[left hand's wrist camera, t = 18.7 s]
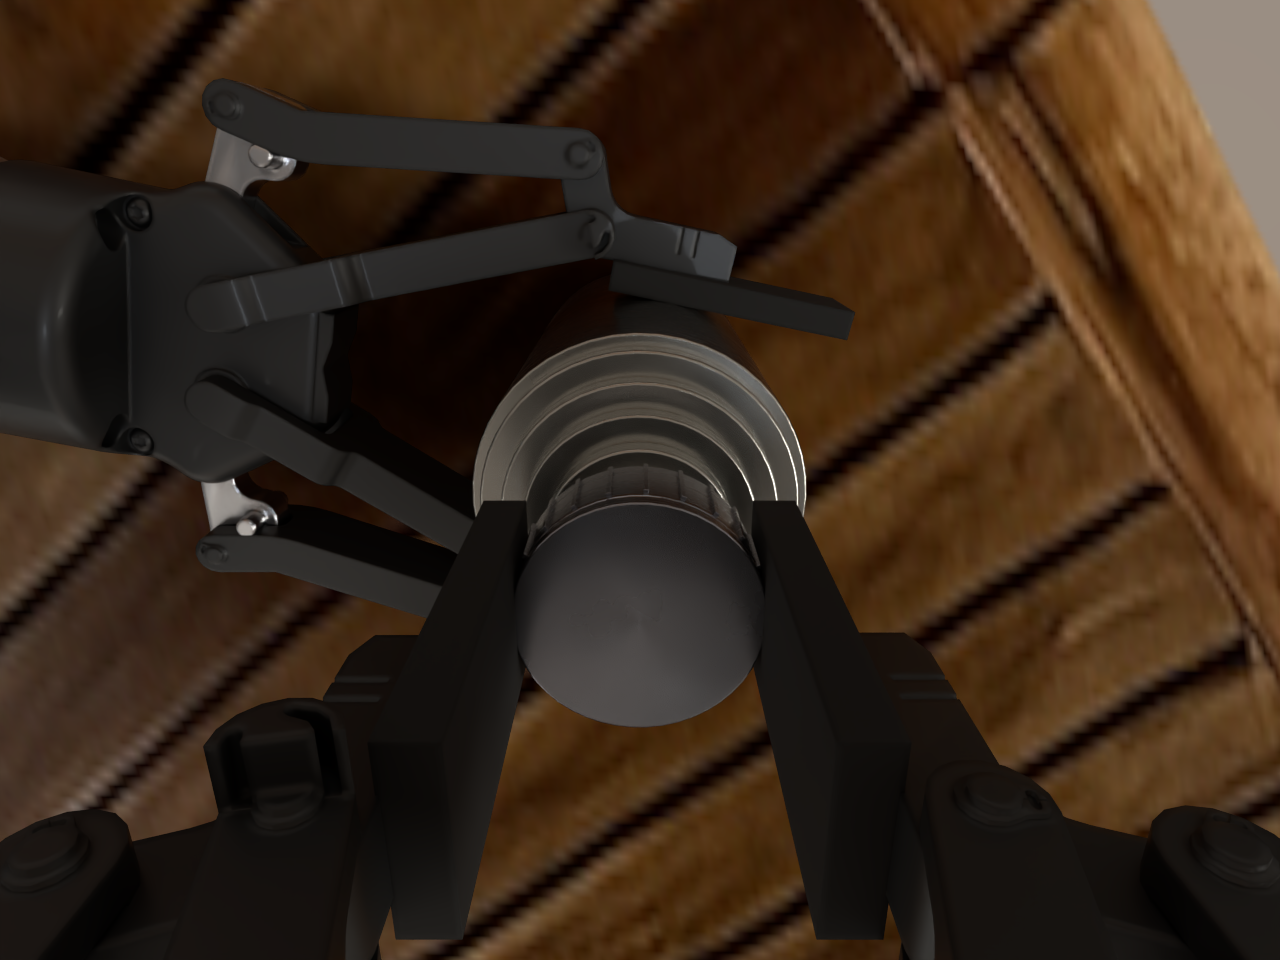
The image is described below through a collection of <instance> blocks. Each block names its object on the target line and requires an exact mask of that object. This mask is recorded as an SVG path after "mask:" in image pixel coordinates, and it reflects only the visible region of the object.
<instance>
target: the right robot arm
mask: <svg viewBox="0 0 1280 960" xmlns="http://www.w3.org/2000/svg"><path fill="white" fill-rule="evenodd" d="M202 106H203V109H204V112H205V115H206V117H207V118H208V119H209V121H210V122H211V123H212V124H213V125H214V126H216V127H217V131H216V136H215V140H214V145H213V149H212V154H211V158H210V162H209V167H208V171H207V176H206V180H205V181H201V182H195V183H191V184H188V185H186V186H183V187H180V188H177V189H165V188H160V187H155V186H150V185H146V184H141V183H136V182H131V181H126V180H122V179H117V178H112V177H107V176H103V175H98V174H93V173H88V172H83V171H79V170H74V169H69V168H64V167H60V166H55V165H50V164H45V163H40V162H36V161H29V160H6V159H4V158H2V157H0V433H5V434H10V435H16V436H21V437H26V438H32V439H37V440H42V441H48V442H53V443H59V444H64V445H69V446H75V447H80V448H85V449H91V450H96V451H102V452H109V453H118V454H131V455H143V456H150V457H154V458H157V459H159V460H161V461H164V462H165V463H167V464H169V465H171V466H173V467H174V468H176V469H177V470H179V471H180V472H181V473H183V474H184V475H186V476H187V477H189V478H191V479H193V480H196V481H199V482H201V485H202V490H203V495H204V500H205V504H206V509H207V514H208V519H209V524H210V532H209V533H208V534H207V535H205V536H204V537H203V538H202V539H201V540H199V542H198V544H197V546H196V555H197V558H198V560H199V561H200V562H201V563H202V565H203V566H204V567H206V568H208V569H210V570H212V571H217V572H278V573H281V574H284V575H288V576H291V577H294V578H298V579H301V580H304V581H307V582H311V583H314V584H317V585H320V586H324V587H327V588H330V589H333V590H337V591H340V592H343V593H346V594H350V595H353V596H356V597H360V598H363V599H366V600H369V601H373V602H376V603H379V604H382V605H386V606H389V607H392V608H395V609H399V610H402V611H405V612H409V613H412V614H415V615H418V616H422V617H425V618H427V617H428V615H429V613H430V611H431V609H432V607H433V605H434V603H435V601H436V599H437V596H438V594H439V592H440V590H441V588H442V586H443V584H444V582H445V580H446V578H447V576H448V574H449V572H450V569H451V567H452V565H453V563H454V561H455V559H456V557H457V555H458V553H459V551H460V549H461V547H462V545H463V542H464V540H465V538H466V536H467V534H468V532H469V530H470V528H471V526H472V524H473V522H474V520H475V518H476V517H475V512H474V506H473V488H472V481H470V480H469V479H467V478H465V477H464V476H462V475H460V474H459V473H457V472H455V471H454V470H452V469H450V468H448V467H447V466H445V465H443V464H442V463H440V462H438V461H437V460H435V459H433V458H432V457H430V456H428V455H427V454H425V453H423V452H421V451H420V450H418V449H416V448H415V447H413V446H411V445H410V444H408V443H406V442H405V441H403V440H401V439H400V438H398V437H396V436H394V435H393V434H391V433H389V432H388V431H386V430H385V429H383V428H382V427H381V426H380V423H379V421H378V420H377V419H376V418H375V417H374V416H373V415H371V414H370V413H368V412H367V411H365V410H363V409H361V408H360V407H358V406H356V405H355V404H353V403H351V392H352V376H351V371H350V366H349V361H348V351H349V349H350V346H351V343H352V341H353V338H354V335H355V333H356V330H357V318H358V306H359V303H362V302H366V301H370V300H375V299H380V298H386V297H391V296H396V295H401V294H407V293H412V292H417V291H422V290H428V289H433V288H438V287H443V286H449V285H454V284H459V283H464V282H470V281H475V280H480V279H485V278H490V277H496V276H501V275H506V274H511V273H517V272H522V271H527V270H532V269H538V268H543V267H548V266H553V265H559V264H564V263H569V262H574V261H580V260H585V259H590V258H595V260H596V259H599V258H604V259H608V260H613V266H612V272H611V277H610V282H609V288H608V291H613V292H618V293H623V294H628V295H632V296H637V297H642V298H647V299H652V300H656V301H661V302H666V303H671V304H676V305H680V306H685V307H690V308H695V309H700V310H704V311H709V312H714V313H719V314H724V315H729V316H733V317H738V318H743V319H748V320H753V321H757V322H762V323H767V324H772V325H777V326H781V327H786V328H791V329H796V330H801V331H805V332H810V333H815V334H820V335H825V336H829V337H834V338H839V339H844V340H847V338H848V335H849V331H850V328H851V325H852V321H853V318H854V315H855V312H854V311H852V310H850V309H849V308H847V307H846V306H844V305H842V304H841V303H839V302H838V301H836V300H834V299H833V298H829V297H824V296H819V295H815V294H810V293H805V292H801V291H796V290H791V289H786V288H782V287H777V286H772V285H767V284H763V283H758V282H753V281H749V280H744V279H739V278H734V277H730V274H731V270H732V266H733V261H734V257H735V253H736V249H737V247H736V246H735V245H734V244H732V243H731V242H729V241H728V240H726V239H725V238H724V237H722V236H721V235H719V234H718V233H716V232H713V231H709V230H704V229H700V228H695V227H690V226H686V225H681V224H676V223H672V222H667V221H662V220H658V219H653V218H648V217H644V216H639V215H635V214H632V213H629V212H627V211H625V210H624V209H622V208H621V207H620V206H619V204H618V203H617V202H616V200H615V198H614V196H613V193H612V189H611V183H610V176H609V170H608V163H607V155H606V149H605V147H604V145H603V144H602V142H601V141H600V140H599V139H598V138H597V137H596V136H595V135H594V134H593V133H591V132H590V131H588V130H584V129H581V128H567V127H551V126H536V125H520V124H504V123H488V122H472V121H457V120H441V119H425V118H409V117H393V116H378V115H362V114H346V113H330V112H321V111H319V110H317V109H314V108H312V107H310V106H308V105H305V104H303V103H301V102H299V101H296V100H294V99H292V98H290V97H288V96H285V95H283V94H281V93H279V92H276V91H273V90H269V89H265V88H261V87H258V86H254V85H250V84H246V83H241V82H236V81H232V80H228V79H223V78H222V79H217V80H213V81H212V82H211V83H210V84H208V85H207V86H206V88H205V90H204V93H203V95H202ZM309 163H317V164H325V165H341V166H358V167H374V168H390V169H406V170H422V171H438V172H454V173H471V174H487V175H503V176H519V177H535V178H551V179H561V183H562V188H563V194H564V200H565V206H566V212H561V213H556V214H551V215H545V216H540V217H535V218H530V219H525V220H520V221H515V222H510V223H504V224H499V225H494V226H489V227H484V228H479V229H474V230H469V231H463V232H458V233H453V234H448V235H443V236H438V237H433V238H428V239H422V240H417V241H412V242H407V243H402V244H397V245H392V246H386V247H381V248H375V249H369V250H364V251H359V252H354V253H349V254H344V255H338V256H333V257H328V258H323V259H322V258H321V257H320V256H319V255H318V254H317V253H316V252H315V251H314V250H313V249H312V248H311V247H310V246H309V245H308V244H307V243H306V242H305V241H304V240H303V239H302V238H301V237H300V236H299V235H298V234H296V233H295V232H294V231H293V230H292V229H291V228H290V227H289V226H288V225H287V224H286V223H285V222H284V221H283V220H282V219H281V218H280V217H279V216H278V215H277V214H276V213H275V212H274V211H273V210H272V209H271V208H270V207H269V206H268V205H267V204H266V203H265V202H264V201H263V200H262V199H261V198H260V197H259V196H258V193H259V191H260V188H261V187H262V186H263V185H264V184H265V183H266V182H268V181H270V180H271V181H294V180H297V179H299V178H301V177H302V176H303V175H304V174H305V173H306V171H307V168H308V166H309ZM273 460H276V461H278V462H279V463H281V464H283V465H285V466H286V467H288V468H290V469H292V470H293V471H295V472H297V473H299V474H301V475H302V476H304V477H306V478H308V479H309V480H311V481H313V482H315V483H318V484H321V485H325V486H328V485H334V486H338V487H340V488H343V489H344V490H346V491H348V492H350V493H351V494H353V495H355V496H357V497H358V498H360V499H362V500H364V501H365V502H367V503H369V504H371V505H372V506H374V507H376V508H378V509H379V510H381V511H383V512H385V513H386V514H388V515H390V516H392V517H393V518H395V519H397V520H399V521H400V522H402V523H404V524H406V525H407V526H409V527H411V528H413V529H414V530H416V531H418V532H420V533H422V534H423V535H425V536H427V537H429V538H430V539H432V540H434V541H436V542H437V543H439V544H441V545H443V546H444V547H446V548H444V547H441V546H438V545H434V544H431V543H428V542H425V541H422V540H419V539H416V538H412V537H409V536H406V535H403V534H400V533H397V532H394V531H390V530H387V529H384V528H381V527H378V526H375V525H372V524H368V523H365V522H362V521H359V520H356V519H353V518H350V517H346V516H343V515H340V514H337V513H334V512H331V511H327V510H323V509H320V508H316V507H310V506H303V505H290V504H288V497H287V495H286V494H285V493H284V492H282V491H272V490H268V489H264V488H261V487H260V486H258V485H256V484H255V483H254V482H253V481H252V479H251V478H250V476H249V474H248V472H249V471H251V470H253V469H255V468H258V467H260V466H262V465H264V464H266V463H268V462H271V461H273ZM447 548H448V549H447Z"/></svg>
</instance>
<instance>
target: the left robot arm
mask: <svg viewBox="0 0 1280 960" xmlns="http://www.w3.org/2000/svg"><path fill="white" fill-rule="evenodd" d="M751 535H752V537H753V541H754V544H755V547H756V550H757V553H758V557H759V560H760V563H761V566H762V569H760V570H759V572H760V576H761V578H762V582H763V585H764V590H765V605H764V621H763V638H762V649H761V652H760V654H759V657H758V658H757V660H756V662H755V664H754V666H753V667H754V671H755V675H756V680H757V684H758V688H759V693H760V697H761V701H762V706H763V710H764V714H765V719H766V723H767V727H768V732H769V736H770V740H771V745H772V749H773V753H774V758H775V762H776V766H777V770H778V775H779V779H780V783H781V788H782V792H783V796H784V801H785V805H786V809H787V814H788V818H789V822H790V827H791V831H792V835H793V840H794V844H795V848H796V853H797V857H798V861H799V865H800V870H801V874H802V878H803V883H804V887H805V891H806V896H807V900H808V904H809V909H810V913H811V917H812V922H813V926H814V930H815V935H816V939H851V940H883V938H884V931H885V924H886V917H887V910H888V903H889V905H890V908H891V911H892V914H893V917H894V920H895V923H896V926H897V929H898V932H899V934H900V937H901V940H902V942H901V948H900V955H899V960H1280V838H1278V837H1277V836H1276V835H1274V834H1273V833H1271V832H1269V831H1267V830H1265V829H1263V828H1261V827H1259V826H1257V825H1256V824H1254V823H1252V822H1250V821H1248V820H1246V819H1244V818H1241V817H1238V816H1235V815H1232V814H1229V813H1226V812H1222V811H1219V810H1216V809H1213V808H1204V807H1195V806H1186V805H1185V806H1180V807H1175V808H1170V809H1165V810H1163V811H1162V812H1161V813H1160V814H1159V815H1158V816H1157V817H1156V818H1155V819H1154V820H1153V821H1152V824H1151V828H1150V831H1149V835H1148V838H1144V837H1140V836H1135V835H1131V834H1127V833H1122V832H1118V831H1114V830H1109V829H1105V828H1101V827H1096V826H1092V825H1088V824H1085V823H1082V822H1078V821H1075V820H1072V819H1068V818H1066V817H1064V816H1063V815H1062V812H1061V811H1060V809H1059V808H1058V806H1057V805H1056V803H1055V802H1054V800H1053V799H1052V797H1051V796H1050V794H1049V793H1048V792H1046V791H1045V790H1044V789H1043V788H1041V787H1040V786H1039V785H1038V784H1037V783H1035V782H1034V781H1033V780H1032V779H1030V778H1029V777H1027V776H1025V775H1023V774H1020V773H1018V772H1016V771H1014V770H1012V769H1010V768H1008V767H1006V766H1002V765H999V763H998V762H997V760H996V759H995V757H994V755H993V754H992V752H991V750H990V749H989V747H988V745H987V744H986V742H985V741H984V739H983V737H982V736H981V734H980V732H979V731H978V729H977V728H976V726H975V724H974V723H973V721H972V719H971V718H970V716H969V714H968V713H967V711H966V710H965V708H964V706H963V705H962V703H961V701H960V700H959V699H957V698H956V693H955V692H954V690H953V688H952V687H951V685H950V683H949V682H948V680H945V675H944V674H943V672H942V670H941V669H940V667H939V665H938V664H937V662H936V661H935V659H934V657H933V656H932V654H931V652H929V651H928V650H927V649H925V648H924V647H923V646H921V645H920V644H919V643H917V642H916V641H915V640H913V639H912V638H911V637H909V636H908V635H907V634H905V633H859V632H858V630H857V628H856V626H855V623H854V621H853V619H852V617H851V615H850V613H849V611H848V609H847V607H846V605H845V603H844V601H843V599H842V596H841V594H840V592H839V590H838V588H837V586H836V584H835V582H834V580H833V578H832V576H831V574H830V572H829V569H828V567H827V565H826V563H825V561H824V559H823V557H822V555H821V553H820V551H819V549H818V547H817V545H816V542H815V540H814V538H813V536H812V534H811V532H810V530H809V528H808V526H807V524H806V522H805V520H804V517H803V515H802V513H801V511H800V509H799V507H798V505H797V503H796V501H753V507H752V526H751ZM527 538H528V525H527V506H526V500H502V501H483V503H482V505H481V507H480V509H479V511H478V513H477V515H476V518H475V520H474V522H473V524H472V526H471V528H470V530H469V532H468V534H467V536H466V538H465V540H464V542H463V545H462V547H461V549H460V551H459V553H458V555H457V557H456V559H455V561H454V563H453V565H452V567H451V569H450V572H449V574H448V576H447V578H446V580H445V582H444V584H443V586H442V588H441V590H440V592H439V594H438V596H437V599H436V601H435V603H434V605H433V607H432V609H431V611H430V613H429V615H428V617H427V619H426V621H425V623H424V626H423V628H422V630H421V632H420V634H419V635H375V636H373V637H372V638H371V639H369V640H368V641H367V642H365V643H364V644H363V645H362V646H360V647H359V648H358V649H356V650H355V651H354V652H352V653H351V654H350V655H349V656H348V657H347V659H346V661H345V662H344V664H343V665H342V667H341V669H340V670H339V672H338V674H337V675H336V677H335V682H334V683H332V684H331V685H330V687H329V688H328V690H327V692H326V693H325V695H324V697H323V701H321V700H318V699H314V698H287V699H282V700H277V701H273V702H268V703H264V704H261V705H258V706H256V707H254V708H251V709H249V710H247V711H244V712H242V713H240V714H237V715H236V716H234V717H233V718H231V719H230V720H229V721H227V722H226V723H224V724H223V725H222V726H220V727H219V728H217V729H216V730H215V732H214V733H213V734H212V735H211V737H210V738H209V739H208V741H207V742H206V743H205V745H204V746H203V748H204V752H205V756H206V761H207V765H208V769H209V773H210V778H211V782H212V786H213V791H214V795H215V799H216V803H217V808H218V812H219V814H218V816H217V819H216V820H214V821H212V822H209V823H206V824H202V825H199V826H196V827H192V828H189V829H185V830H180V831H176V832H172V833H167V834H163V835H159V836H155V837H150V838H146V839H142V840H137V841H133V842H132V839H131V836H130V832H129V829H128V825H127V824H126V823H125V822H124V821H123V820H122V819H121V818H120V817H119V816H118V815H117V814H116V813H112V812H107V811H102V810H97V809H90V810H81V811H72V812H66V813H62V814H59V815H56V816H53V817H50V818H47V819H44V820H41V821H38V822H35V823H33V824H31V825H30V826H28V827H26V828H24V829H22V830H20V831H18V832H16V833H14V834H12V835H11V836H9V837H7V838H5V839H4V840H3V841H1V842H0V960H381V955H380V948H379V939H380V936H381V933H382V930H383V927H384V924H385V921H386V918H387V915H388V912H389V909H390V906H391V910H392V917H393V924H394V931H395V937H396V939H463V935H464V930H465V926H466V922H467V918H468V913H469V909H470V905H471V900H472V896H473V892H474V887H475V883H476V879H477V874H478V870H479V866H480V861H481V857H482V853H483V848H484V844H485V840H486V836H487V831H488V827H489V823H490V818H491V814H492V810H493V805H494V801H495V797H496V792H497V788H498V784H499V779H500V775H501V771H502V766H503V762H504V758H505V754H506V749H507V745H508V741H509V736H510V732H511V728H512V723H513V719H514V715H515V710H516V706H517V702H518V697H519V693H520V689H521V684H522V680H523V676H524V672H525V667H526V666H525V664H524V662H523V661H522V659H521V657H520V654H519V652H518V649H517V636H516V620H515V604H514V589H515V585H516V581H517V578H518V575H519V571H520V568H521V565H522V562H523V558H522V554H523V551H524V547H525V544H526V541H527Z"/></svg>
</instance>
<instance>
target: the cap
mask: <svg viewBox="0 0 1280 960" xmlns="http://www.w3.org/2000/svg"><path fill="white" fill-rule="evenodd" d="M522 558H523V562H522V565H521V568H520V571H519V575H518V578H517V581H516V585H515V589H514V604H515V620H516V636H517V649H518V652H519V654H520V657H521V659H522V661H523V662H524V664H525V666H526V668H527V670H528V671H529V672H530V674H531V675H532V677H533V678H534V679H535V681H536V682H537V683H538V684H539V685H540V686H541V687H542V688H543V689H544V690H545V691H546V692H547V693H548V694H549V695H550V696H552V697H553V698H554V699H555V700H557V701H558V702H559V703H561V704H562V705H564V706H565V707H567V708H569V709H570V710H572V711H574V712H576V713H578V714H580V715H583V716H585V717H587V718H590V719H593V720H596V721H599V722H602V723H607V724H612V725H616V726H625V727H653V726H663V725H667V724H672V723H676V722H680V721H683V720H686V719H689V718H692V717H694V716H696V715H699V714H701V713H703V712H705V711H707V710H709V709H710V708H712V707H713V706H715V705H717V704H718V703H720V702H721V701H722V700H724V699H725V698H726V697H727V696H729V695H730V694H731V693H732V692H733V691H734V690H735V689H736V688H737V687H738V686H739V685H740V684H741V683H742V682H743V680H744V679H745V678H746V676H747V675H748V674H749V672H750V671H751V670H752V668H753V666H754V664H755V662H756V660H757V658H758V657H759V654H760V652H761V649H762V638H763V621H764V605H765V590H764V585H763V582H762V578H761V576H760V572H759V570H760V569H762V566H761V563H760V560H759V557H758V553H757V550H756V547H755V544H754V541H753V537H752V535H751V534H747V532H746V529H745V527H744V525H743V524H742V522H741V520H740V518H739V514H738V511H737V509H736V507H735V506H734V507H733V508H731V506H730V505H729V504H728V503H727V502H726V501H725V500H724V499H723V498H722V497H721V496H720V495H719V494H717V493H716V492H715V491H714V487H713V486H712V485H710V484H709V486H707V485H705V484H703V483H701V482H699V481H698V480H696V479H694V478H692V477H689V476H687V475H684V474H683V471H682V470H678V472H676V471H672V470H668V469H664V468H657V467H648V464H643V466H630V467H622V468H615V469H614V468H613V466H612V467H608V470H607V471H603V472H600V473H597V474H595V475H592V476H590V477H587V478H585V479H583V480H581V479H580V478H579V479H577V480H576V483H575V484H574V485H572V486H571V487H570V488H568V489H567V490H566V491H564V492H563V493H561V494H560V495H559V496H558V497H557V498H556V499H554V498H551V499H550V501H549V504H548V508H547V509H546V510H545V511H544V513H543V514H542V515H541V517H540V519H539V520H538V522H537V524H534V523H533V524H532V526H531V528H530V532H529V535H528V538H527V541H526V544H525V547H524V551H523V554H522Z"/></svg>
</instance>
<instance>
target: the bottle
mask: <svg viewBox="0 0 1280 960" xmlns="http://www.w3.org/2000/svg"><path fill="white" fill-rule="evenodd" d="M610 277H611V274H609V275H607V276H604V277H601V278H599V279H596V280H594V281H593V282H591V283H589V284H587V285H585V286H584V287H582V288H581V289H579V290H578V291H577V292H575V293H574V294H573V295H572V296H571V297H570V298H569V299H568V300H567V301H565V302H564V303H563V305H562V306H561V307H560V308H559V310H558V311H557V312H556V314H555V315H554V317H553V318H552V320H551V321H550V323H549V325H548V326H547V328H546V329H545V331H544V333H543V334H542V336H541V337H540V339H539V341H538V342H537V344H536V345H535V347H534V348H533V350H532V352H531V353H530V355H529V356H528V358H527V360H526V361H525V363H524V364H523V366H522V368H521V369H520V371H519V372H518V374H517V376H516V377H515V379H514V380H513V382H512V384H511V385H510V387H509V388H508V390H507V392H506V393H505V395H504V396H503V398H502V399H501V401H500V403H499V404H498V406H497V408H496V409H495V411H494V413H493V414H492V416H491V418H490V419H489V421H488V423H487V426H486V428H485V430H484V433H483V435H482V438H481V440H480V443H479V447H478V451H477V454H476V458H475V463H474V472H473V481H472V488H473V506H474V512H475V517H476V515H477V513H478V511H479V509H480V507H481V505H482V503H483V501H502V500H526V506H527V525H528V535H529V532H530V528H531V526H532V524H533V523H534V524H537V522H538V520H539V519H540V517H541V515H542V514H543V513H544V511H545V510H546V509H547V508H548V504H549V501H550V499H551V498H554V499H556V498H557V497H558V496H559V495H560V494H561V493H563V492H564V491H566V490H567V489H568V488H570V487H571V486H572V485H574V484H575V483H576V480H577V479H579V478H580V479H581V480H583V479H585V478H587V477H590V476H592V475H595V474H597V473H600V472H603V471H607V470H608V467H612V466H613V468H614V469H615V468H622V467H630V466H643V464H648V467H657V468H664V469H668V470H672V471H676V472H678V470H682V471H683V474H684V475H687V476H689V477H692V478H694V479H696V480H698V481H699V482H701V483H703V484H705V485H707V486H709V484H710V485H712V486H713V487H714V491H715V492H716V493H717V494H719V495H720V496H721V497H722V498H723V499H724V500H725V501H726V502H727V503H728V504H729V505H730V506H731V508H733V507H734V506H735V507H736V509H737V511H738V514H739V518H740V520H741V522H742V524H743V525H744V527H745V529H746V532H747V534H751V526H752V507H753V501H796V503H797V505H798V507H799V509H800V511H801V513H802V515H803V517H804V512H805V504H806V497H807V492H806V471H805V465H804V458H803V453H802V450H801V447H800V444H799V441H798V437H797V434H796V432H795V430H794V428H793V426H792V424H791V422H790V420H789V417H788V416H787V414H786V412H785V411H784V409H783V408H782V406H781V404H780V403H779V401H778V400H777V398H776V396H775V395H774V393H773V392H772V390H771V388H770V387H769V385H768V384H767V382H766V380H765V379H764V377H763V376H762V374H761V372H760V371H759V369H758V368H757V366H756V364H755V363H754V361H753V360H752V358H751V356H750V355H749V353H748V352H747V350H746V348H745V347H744V345H743V344H742V342H741V340H740V339H739V337H738V336H737V334H736V332H735V331H734V329H733V328H732V326H731V324H730V323H729V321H728V320H727V318H726V317H725V315H724V314H719V313H714V312H709V311H704V310H700V309H695V308H690V307H685V306H680V305H676V304H671V303H666V302H661V301H656V300H652V299H647V298H642V297H637V296H632V295H628V294H623V293H618V292H613V291H608V288H609V282H610Z"/></svg>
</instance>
